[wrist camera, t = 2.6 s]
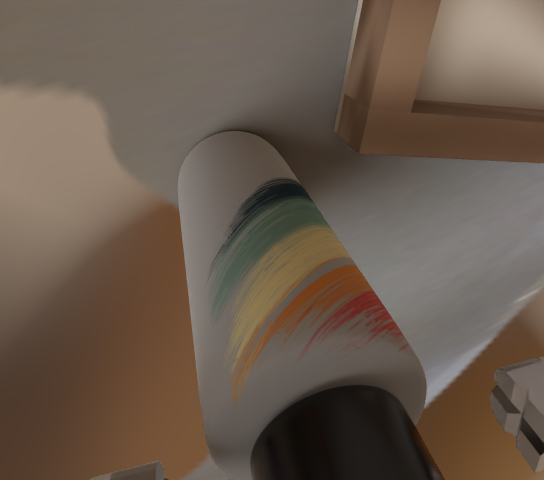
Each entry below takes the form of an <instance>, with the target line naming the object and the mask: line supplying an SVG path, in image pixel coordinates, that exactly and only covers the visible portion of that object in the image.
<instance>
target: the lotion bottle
mask: <svg viewBox="0 0 544 480" xmlns="http://www.w3.org/2000/svg"><path fill="white" fill-rule="evenodd" d="M178 199H179V210H180V219H181V229H182V237H183V247H184V256H185V266H186V275H187V284H188V293H189V302H190V311H191V321H192V330H193V340H194V349H195V358H196V367H197V376H198V385H199V394H200V403H201V411H202V418H203V426H204V432H205V438H206V443H207V446H208V449H209V452H210V455H211V457H212V459H213V461H214V463H215V465H216V466H217V467H218V468H219V469H220V470H221V471H222V472H223V473H224V474H225V475H226V476H227V477H229V478H230V479H231V480H445V479H444V477H443V475H442V473H441V472H440V470H439V468H438V466H437V464H436V463H435V461H434V459H433V457H432V456H431V454H430V452H429V450H428V448H427V447H426V445H425V443H424V441H423V439H422V437H421V436H420V434H419V432H418V430H417V428H416V427H415V426H416V424H417V422H418V420H419V418H420V416H421V414H422V411H423V408H424V404H425V399H426V389H427V385H426V378H425V374H424V371H423V369H422V366H421V364H420V362H419V359H418V358H417V356H416V354H415V353H414V351H413V349H412V348H411V346H410V345H409V343H408V342H407V340H406V339H405V337H404V336H403V334H402V332H401V331H400V329H399V328H398V326H397V325H396V323H395V322H394V320H393V319H392V317H391V316H390V314H389V313H388V311H387V310H386V308H385V307H384V305H383V304H382V303H381V301H380V300H379V298H378V297H377V295H376V294H375V292H374V291H373V289H372V288H371V286H370V285H369V283H368V282H367V280H366V279H365V277H364V276H363V275H362V273H361V272H360V270H359V269H358V267H357V266H356V264H355V263H354V261H353V260H352V258H351V257H350V255H349V254H348V253H347V251H346V250H345V248H344V247H343V245H342V244H341V242H340V241H339V239H338V238H337V236H336V235H335V233H334V232H333V231H332V229H331V228H330V226H329V225H328V223H327V222H326V220H325V219H324V217H323V216H322V214H321V213H320V211H319V210H318V209H317V207H316V206H315V204H314V203H313V201H312V200H311V198H310V197H309V195H308V194H307V192H306V191H305V189H304V188H303V186H302V185H301V184H300V182H299V181H298V179H297V178H296V176H295V175H294V173H293V172H292V170H291V169H290V167H289V166H288V165H287V163H286V162H285V160H284V159H283V158H282V156H281V155H280V154H279V153H278V151H277V150H276V149H275V148H274V147H273V146H272V145H271V144H270V143H268V142H267V141H266V140H264V139H263V138H261V137H259V136H257V135H254V134H251V133H248V132H243V131H226V132H221V133H217V134H214V135H212V136H210V137H208V138H206V139H204V140H203V141H201V142H200V143H198V144H197V145H196V146H195V147H194V148H193V149H192V150H191V151H190V153H189V154H188V155H187V157H186V159H185V160H184V162H183V164H182V167H181V170H180V173H179V179H178Z"/></svg>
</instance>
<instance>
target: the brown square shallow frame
mask: <svg viewBox="0 0 544 480" xmlns="http://www.w3.org/2000/svg"><path fill="white" fill-rule="evenodd" d="M334 132H335V133H337V134H338V135H339V136H340V137H341V138H342V139H343V140H344V141H345V142H346V143H348V144H349V145H350V146H351V147H352V148H353V149H354V150H355V151H356V152H357V153H359V154H369V155H389V156H410V157H430V158H450V159H470V160H490V161H511V162H531V163H544V0H359V1H358V6H357V11H356V16H355V22H354V27H353V32H352V37H351V42H350V48H349V53H348V58H347V63H346V68H345V74H344V79H343V84H342V89H341V94H340V100H339V105H338V110H337V115H336V120H335V126H334Z"/></svg>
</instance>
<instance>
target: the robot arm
mask: <svg viewBox="0 0 544 480" xmlns="http://www.w3.org/2000/svg"><path fill="white" fill-rule="evenodd" d="M494 380H495V382H496V383H497V384H498V385H497V386H496V387H495V388H494V389H493V390H492V391H491V398H490V403H491V406H492V410H493V413H494V415H495V417H496V419H497V421H498V422H499V424H500V425H501V427H502V428H503V429H504V430H505V431H506V432H508V433H511V434H512V435H514V436H516V447H517V449H518V450H519V451H520V453H521V454H522V456H523V457H524V458H525V460H526V461H527V462H528V464H529V465H530V466H531V468H532V469H533V470H534V472H535V473H536V472H540V471H544V357H541V358H537V359H531V360H528V361H524V362H521V363H517V364H514V365H510V366H507V367H503V368H500V369H498V370H497V371H496V372H495V375H494ZM90 480H168V479H166V478H164V468H163V466H162V464H161V462H160V461H156V462H153V463H149V464H145V465H141V466H137V467H133V468H129V469H126V470H122V471H118V472H113V473H109V474H106V475H102V476H98V477H94V478H91V479H90Z"/></svg>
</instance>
